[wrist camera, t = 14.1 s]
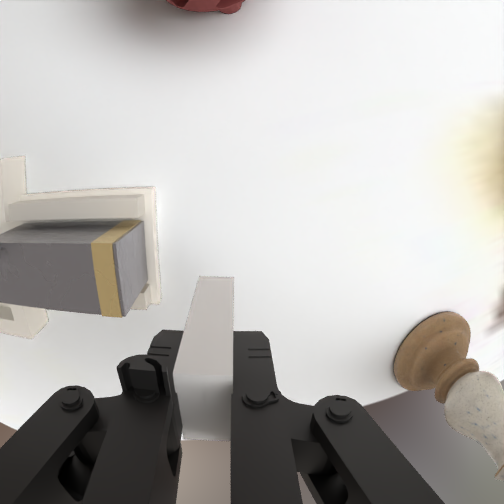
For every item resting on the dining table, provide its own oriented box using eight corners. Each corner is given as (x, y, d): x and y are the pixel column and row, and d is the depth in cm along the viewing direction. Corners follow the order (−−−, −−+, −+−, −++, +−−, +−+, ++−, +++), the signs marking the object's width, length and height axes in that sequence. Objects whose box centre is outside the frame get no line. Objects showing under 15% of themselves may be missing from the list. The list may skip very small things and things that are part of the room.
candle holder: (414, 396, 27) (497, 543, 8) (376, 360, 25) (480, 555, 6) (474, 340, 25) (585, 465, 6) (447, 292, 23) (604, 443, 4)
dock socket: (-63, 176, 17) (-82, 181, 14) (155, 141, 18) (142, 139, 16) (-40, 305, 21) (-56, 317, 19) (165, 332, 23) (157, 355, 20)
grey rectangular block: (24, 222, 18) (-19, 242, 13) (144, 220, 19) (115, 243, 14) (32, 274, 19) (-5, 302, 15) (148, 280, 20) (125, 317, 15)
